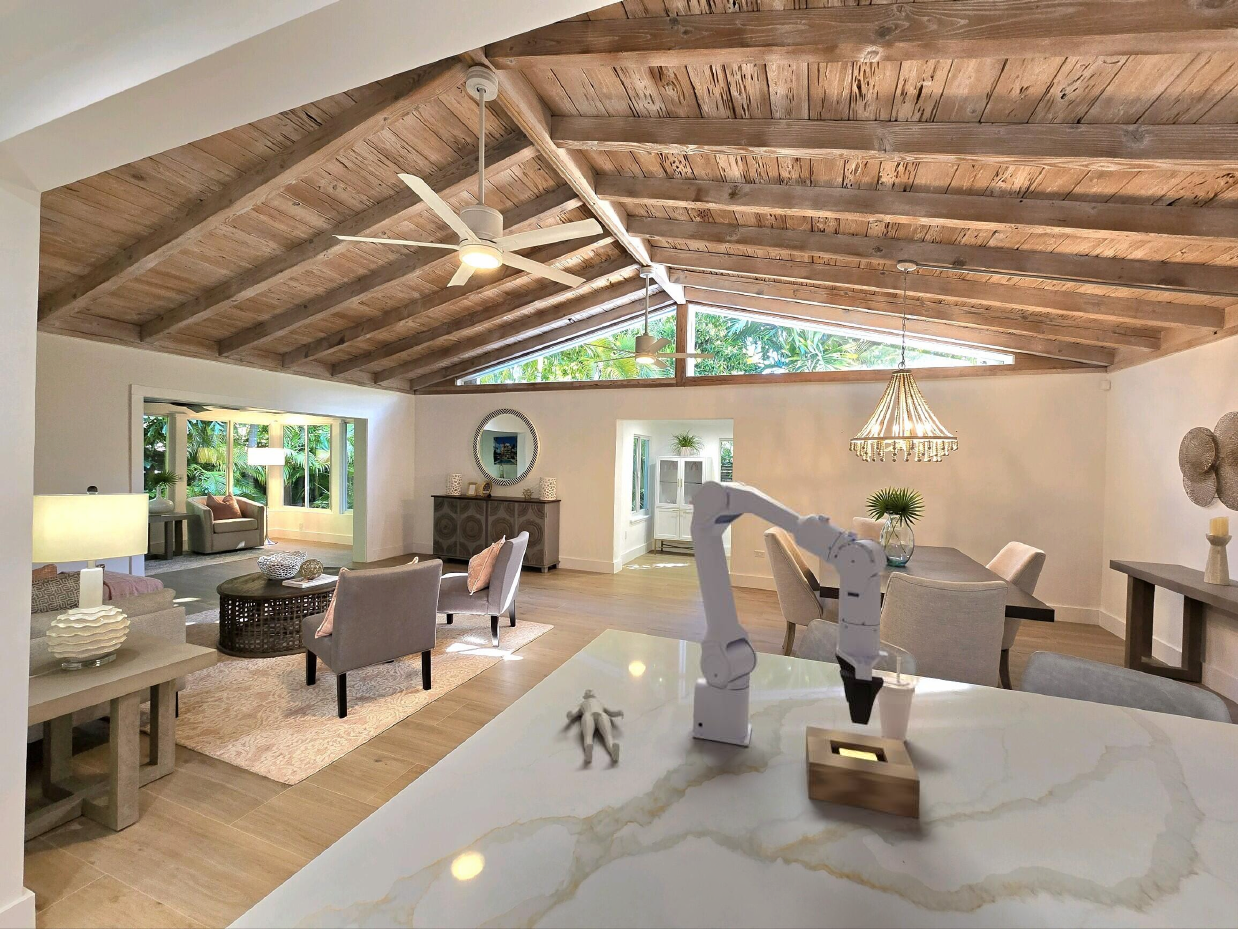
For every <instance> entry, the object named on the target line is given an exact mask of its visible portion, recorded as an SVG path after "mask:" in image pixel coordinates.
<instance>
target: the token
mask: <svg viewBox="0 0 1238 929" xmlns="http://www.w3.org/2000/svg"><path fill="white" fill-rule="evenodd" d="M839 755H845V756H851V757H857V758H863V759H869V760H875V761H878V760H877V758H876V755H875V754H873V753H867V752H860V751H854V750H847V749H840V748H839Z"/></svg>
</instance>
